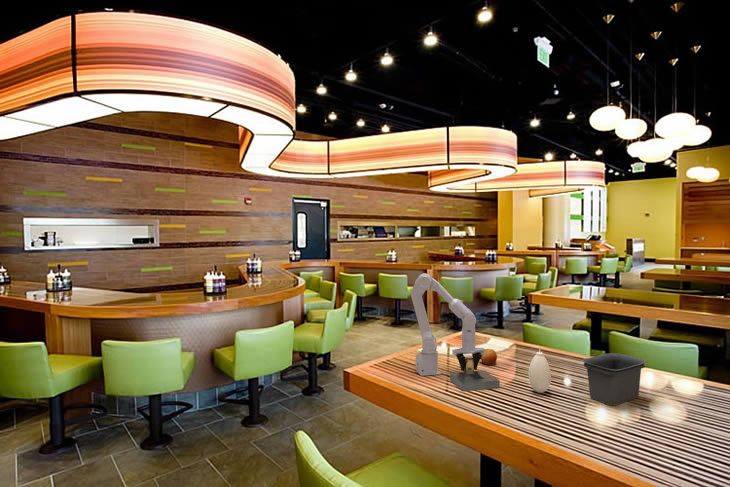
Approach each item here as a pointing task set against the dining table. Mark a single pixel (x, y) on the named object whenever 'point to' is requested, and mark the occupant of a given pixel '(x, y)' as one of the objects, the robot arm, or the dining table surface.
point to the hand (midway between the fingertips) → (468, 370)
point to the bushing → (469, 364)
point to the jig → (474, 380)
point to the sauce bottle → (539, 373)
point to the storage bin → (614, 377)
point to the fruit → (489, 357)
